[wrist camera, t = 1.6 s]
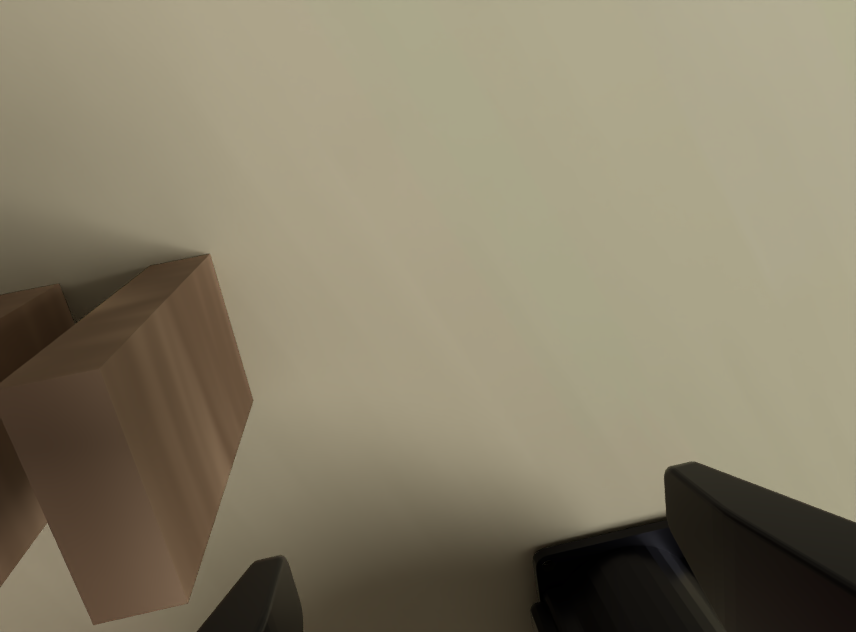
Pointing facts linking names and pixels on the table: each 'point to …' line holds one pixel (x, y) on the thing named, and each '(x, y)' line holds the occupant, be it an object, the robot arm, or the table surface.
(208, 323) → the domino
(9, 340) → the domino
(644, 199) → the table surface
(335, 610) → the table surface
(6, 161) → the table surface
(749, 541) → the robot arm
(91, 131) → the table surface
